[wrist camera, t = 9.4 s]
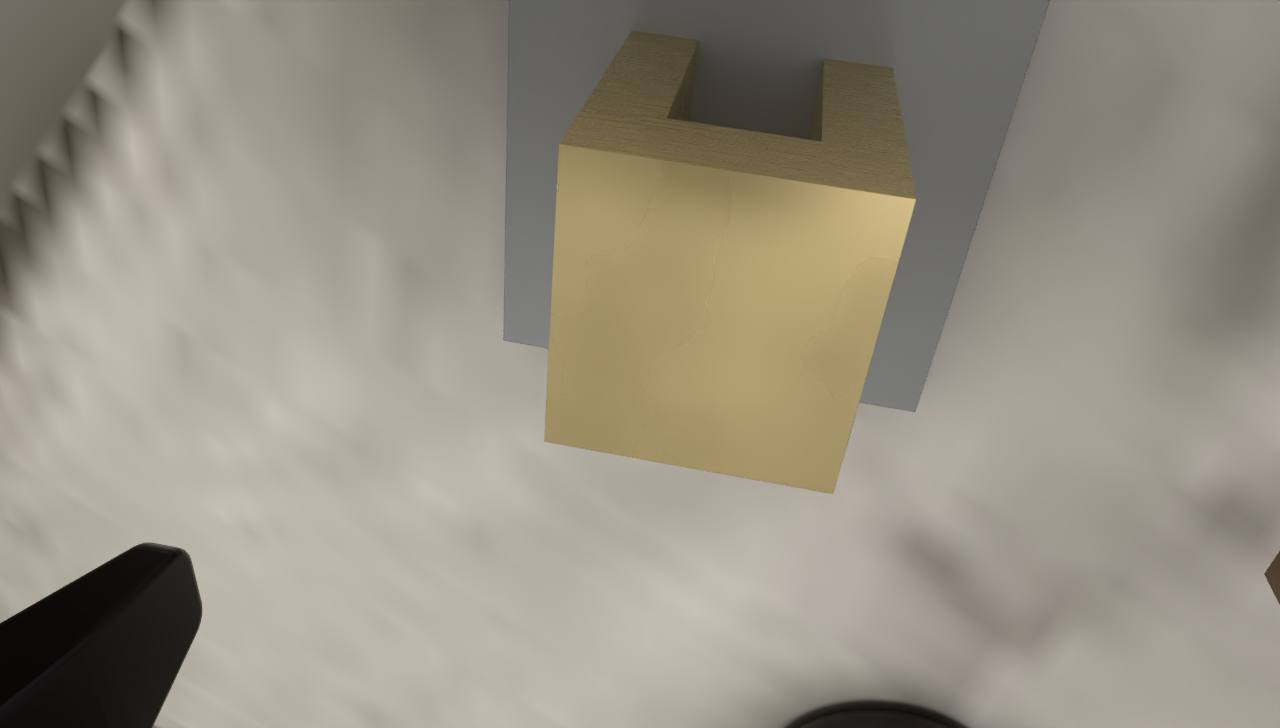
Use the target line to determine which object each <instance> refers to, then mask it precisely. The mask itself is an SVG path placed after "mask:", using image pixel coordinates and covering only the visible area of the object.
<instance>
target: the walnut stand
mask: <svg viewBox="0 0 1280 728" xmlns="http://www.w3.org/2000/svg"><path fill="white" fill-rule="evenodd" d="M1265 576H1266V578H1267V580H1268V582H1269V584H1270V586H1271V588H1272V590H1273V592H1274V594H1275V596H1276V598H1277V600H1278V602H1279V604H1280V551H1279V553H1278V554H1277V556H1276V557H1275V559H1274V560H1273V562H1272V563H1271V565H1270V566H1269V568H1268V569H1267V571H1266V572H1265Z"/></svg>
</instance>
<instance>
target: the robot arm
mask: <svg viewBox="0 0 1280 728" xmlns="http://www.w3.org/2000/svg"><path fill="white" fill-rule="evenodd" d="M201 618H202V602H201V598H200V594H199V590H198V586H197V581H196V577H195V573H194V569H193V565H192V561H191V558H190V555H189V554H188V553H187V552H186V551H185V550H183V549H181V548H177V547H172V546H167V545H162V544H157V543H142V544H139V545H136V546H134V547H132V548H131V549H129V550H127V551H125V552H124V553H122V554H120V555H118V556H117V557H115V558H113V559H111V560H110V561H108V562H106V563H104V564H103V565H101V566H99V567H97V568H96V569H94V570H92V571H91V572H89V573H87V574H85V575H84V576H82V577H80V578H78V579H77V580H75V581H73V582H71V583H70V584H68V585H66V586H64V587H63V588H61V589H59V590H57V591H56V592H54V593H52V594H50V595H49V596H47V597H45V598H43V599H42V600H40V601H38V602H37V603H35V604H33V605H31V606H30V607H28V608H26V609H24V610H23V611H21V612H19V613H17V614H16V615H14V616H12V617H10V618H9V619H7V620H5V621H3V622H2V623H0V728H152V727H153V725H154V723H155V721H156V719H157V717H158V715H159V712H160V710H161V708H162V706H163V704H164V702H165V700H166V698H167V695H168V693H169V691H170V689H171V687H172V685H173V683H174V680H175V678H176V676H177V674H178V672H179V670H180V668H181V666H182V663H183V661H184V659H185V657H186V655H187V653H188V651H189V648H190V646H191V644H192V642H193V640H194V638H195V636H196V634H197V631H198V629H199V626H200V622H201Z"/></svg>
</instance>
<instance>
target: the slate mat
mask: <svg viewBox="0 0 1280 728" xmlns="http://www.w3.org/2000/svg"><path fill="white" fill-rule="evenodd" d="M1049 1H1050V0H509V46H508V105H507V163H506V221H505V279H504V337H503V340H504V341H509V342H515V343H521V344H527V345H532V346H538V347H544V348H549V338H550V317H551V297H552V276H553V256H554V235H555V215H556V194H557V174H558V153H559V143H560V142H561V140H562V138H563V137H564V135H565V134H566V132H567V131H568V129H569V127H570V126H571V124H572V123H573V121H574V120H575V118H576V116H577V115H578V113H579V112H580V110H581V109H582V107H583V105H584V104H585V102H586V101H587V99H588V98H589V96H590V94H591V93H592V91H593V90H594V88H595V87H596V85H597V84H598V82H599V80H600V79H601V77H602V76H603V74H604V73H605V71H606V69H607V68H608V66H609V65H610V63H611V62H612V60H613V58H614V57H615V55H616V54H617V52H618V51H619V49H620V47H621V46H622V44H623V43H624V41H625V40H626V38H627V36H628V35H629V33H630V32H631V30H633V31H640V32H647V33H654V34H661V35H668V36H675V37H682V38H689V39H696V40H699V41H698V49H697V57H696V65H695V72H694V80H693V88H692V96H691V104H690V112H689V119H688V121H689V122H695V123H702V124H708V125H715V126H721V127H728V128H735V129H741V130H748V131H754V132H761V133H768V134H774V135H781V136H787V137H794V138H801V139H808V134H809V129H810V124H811V119H812V114H813V109H814V104H815V99H816V94H817V90H818V85H819V80H820V75H821V70H822V65H823V60H824V58H827V59H834V60H841V61H848V62H855V63H862V64H869V65H876V66H883V67H889V68H893V69H894V75H895V80H896V86H897V92H898V98H899V103H900V109H901V115H902V121H903V127H904V132H905V138H906V144H907V150H908V156H909V161H910V167H911V173H912V179H913V184H914V190H915V196H916V202H915V205H914V209H913V212H912V216H911V219H910V223H909V226H908V230H907V234H906V237H905V241H904V244H903V248H902V251H901V255H900V258H899V262H898V266H897V269H896V273H895V276H894V280H893V283H892V287H891V290H890V294H889V297H888V301H887V305H886V308H885V312H884V315H883V319H882V322H881V326H880V329H879V333H878V337H877V340H876V344H875V347H874V351H873V354H872V358H871V361H870V365H869V368H868V372H867V376H866V379H865V383H864V386H863V390H862V393H861V397H860V400H859V402H860V403H866V404H871V405H877V406H883V407H889V408H894V409H900V410H906V411H912V412H915V411H916V408H917V405H918V402H919V399H920V396H921V393H922V390H923V386H924V383H925V380H926V377H927V374H928V371H929V368H930V365H931V362H932V359H933V356H934V353H935V350H936V347H937V344H938V341H939V338H940V335H941V331H942V328H943V325H944V322H945V319H946V316H947V313H948V310H949V307H950V304H951V301H952V298H953V295H954V292H955V289H956V286H957V283H958V280H959V276H960V273H961V270H962V267H963V264H964V261H965V258H966V255H967V252H968V249H969V246H970V243H971V240H972V237H973V234H974V231H975V228H976V225H977V221H978V218H979V215H980V212H981V209H982V206H983V203H984V200H985V197H986V194H987V191H988V188H989V185H990V182H991V179H992V176H993V173H994V170H995V166H996V163H997V160H998V157H999V154H1000V151H1001V148H1002V145H1003V142H1004V139H1005V136H1006V133H1007V130H1008V127H1009V124H1010V121H1011V118H1012V115H1013V111H1014V108H1015V105H1016V102H1017V99H1018V96H1019V93H1020V90H1021V87H1022V84H1023V81H1024V78H1025V75H1026V72H1027V69H1028V66H1029V63H1030V60H1031V56H1032V53H1033V50H1034V47H1035V44H1036V41H1037V38H1038V35H1039V32H1040V29H1041V26H1042V23H1043V20H1044V17H1045V14H1046V11H1047V8H1048V5H1049Z"/></svg>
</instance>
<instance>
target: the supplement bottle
mask: <svg viewBox="0 0 1280 728" xmlns="http://www.w3.org/2000/svg"><path fill="white" fill-rule="evenodd" d="M799 728H950V727H949V726H947V725H944V724H942V723H940V722H937V721H935V720H932V719H929V718H926V717H922V716H919V715H915V714H910V713H905V712H899V711H891V710H875V709H867V710H851V711H844V712H838V713H834V714H829V715H826V716H823V717H820V718H817V719H814V720H812V721H810V722H808V723H806V724H804V725H802V726H800V727H799Z"/></svg>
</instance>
